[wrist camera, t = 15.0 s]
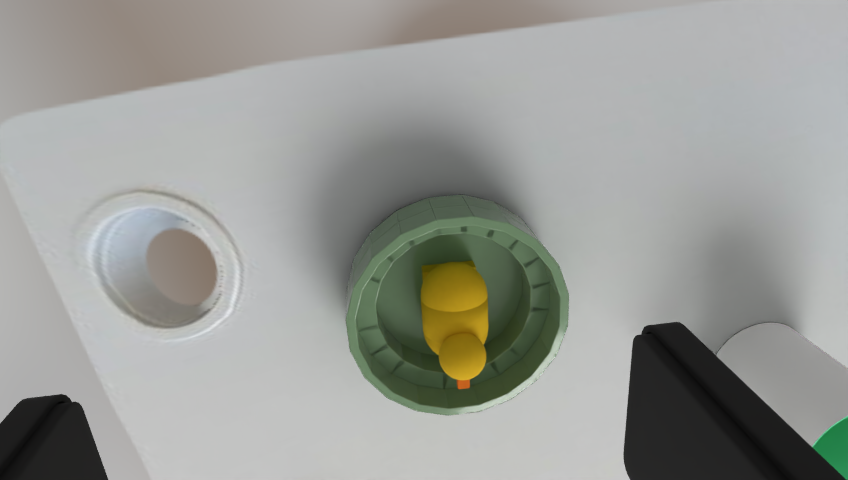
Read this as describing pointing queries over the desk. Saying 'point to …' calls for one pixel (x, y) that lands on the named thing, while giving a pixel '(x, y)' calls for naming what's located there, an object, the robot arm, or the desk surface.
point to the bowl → (402, 316)
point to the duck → (455, 318)
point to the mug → (795, 385)
